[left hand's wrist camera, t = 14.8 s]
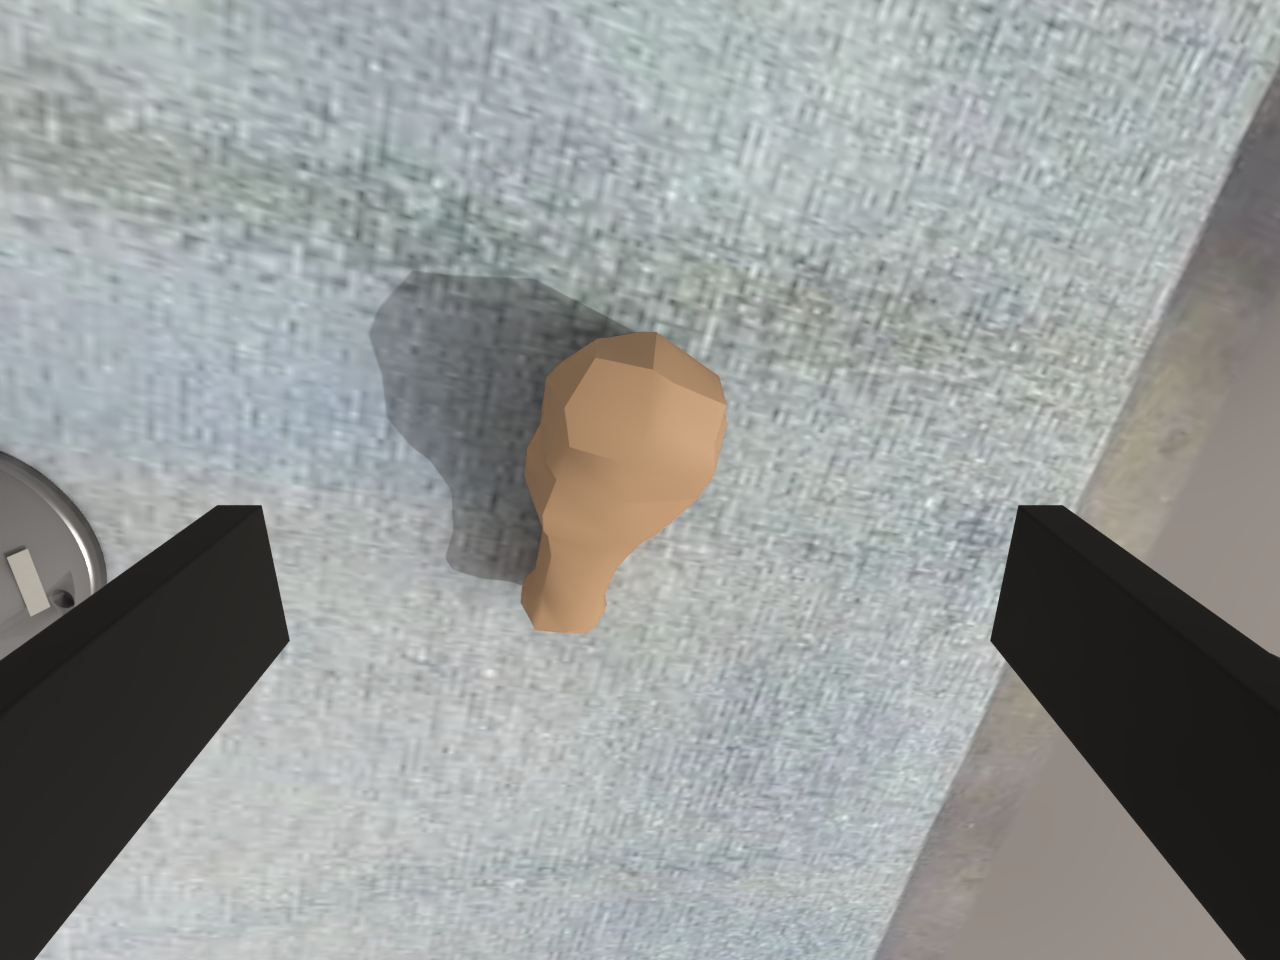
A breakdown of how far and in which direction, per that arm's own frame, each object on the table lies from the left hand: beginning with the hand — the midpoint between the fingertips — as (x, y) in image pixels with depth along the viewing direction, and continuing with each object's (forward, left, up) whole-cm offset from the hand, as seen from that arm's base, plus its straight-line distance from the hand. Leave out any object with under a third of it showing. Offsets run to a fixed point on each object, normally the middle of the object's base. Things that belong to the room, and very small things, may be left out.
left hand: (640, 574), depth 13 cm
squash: (-6, -8, -31) cm, 32 cm away
